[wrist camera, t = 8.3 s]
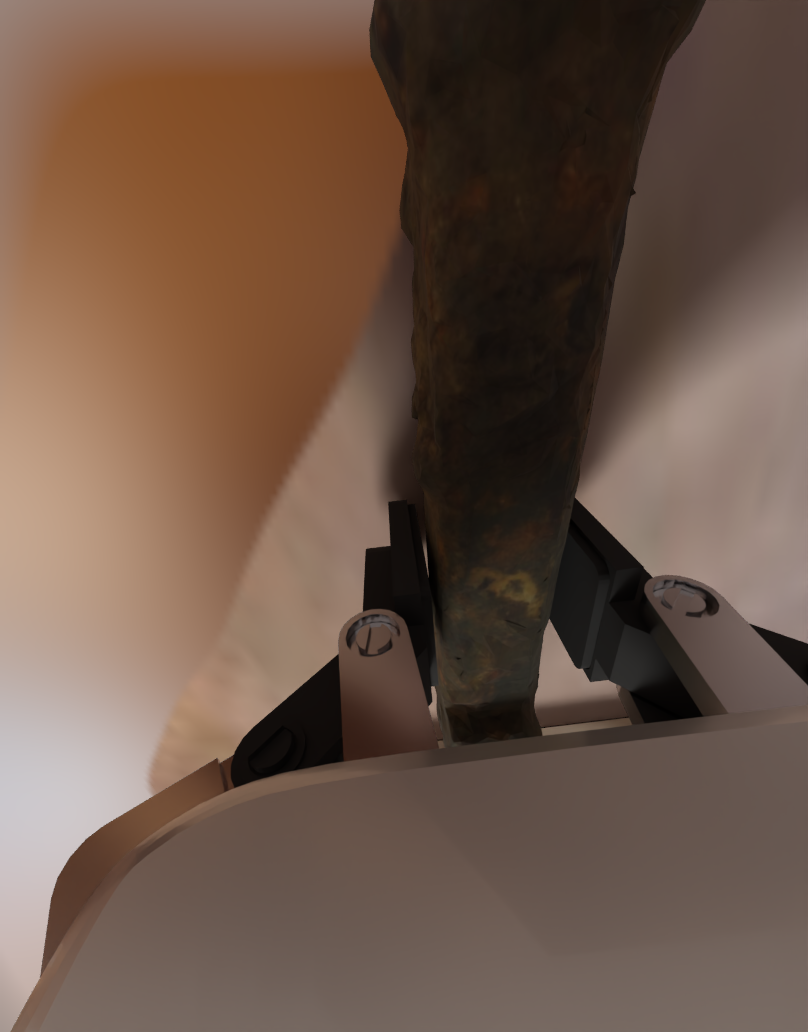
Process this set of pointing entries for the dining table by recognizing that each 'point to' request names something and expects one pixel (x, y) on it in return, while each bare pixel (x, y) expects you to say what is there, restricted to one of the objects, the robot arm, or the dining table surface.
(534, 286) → the hand tool
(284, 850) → the robot arm
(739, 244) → the dining table surface
